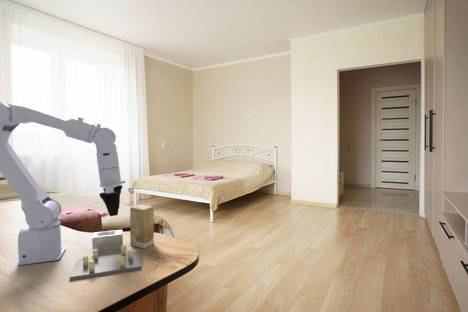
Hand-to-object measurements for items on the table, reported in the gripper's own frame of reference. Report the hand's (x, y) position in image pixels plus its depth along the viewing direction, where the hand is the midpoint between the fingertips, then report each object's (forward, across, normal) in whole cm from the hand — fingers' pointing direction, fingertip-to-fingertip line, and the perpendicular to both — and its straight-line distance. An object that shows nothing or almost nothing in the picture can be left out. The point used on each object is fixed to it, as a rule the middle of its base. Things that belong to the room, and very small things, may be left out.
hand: (114, 212), depth 82 cm
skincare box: (+12, 0, -7) cm, 14 cm away
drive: (+11, 0, +3) cm, 12 cm away
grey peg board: (+11, -12, +2) cm, 16 cm away
